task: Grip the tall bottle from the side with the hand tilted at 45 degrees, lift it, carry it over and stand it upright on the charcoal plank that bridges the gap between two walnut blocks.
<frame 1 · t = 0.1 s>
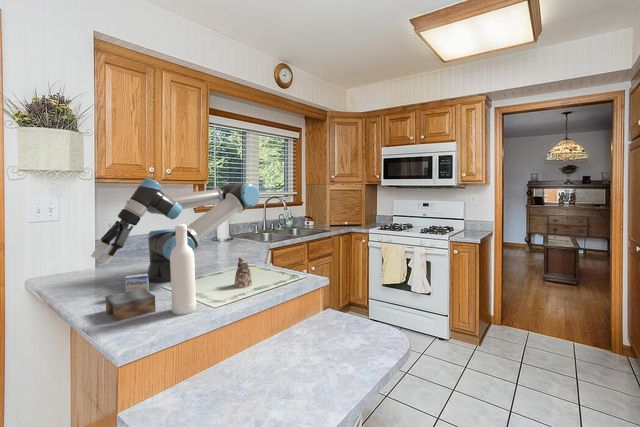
hand: (98, 260, 129), 15 cm above the countertop, tool tilted 35°, fingers open, 13 cm apart
medicine box: (137, 297, 133), on the countertop
figurine: (243, 285, 148), on the countertop
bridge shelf: (131, 311, 118), on the countertop
bottle: (184, 311, 118), on the countertop
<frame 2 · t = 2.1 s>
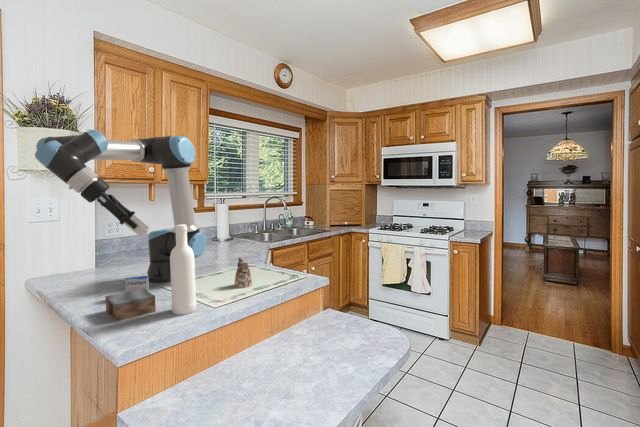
hand: (145, 232, 111), 28 cm above the countertop, tool tilted 45°, fingers open, 13 cm apart
nothing on the countertop moved.
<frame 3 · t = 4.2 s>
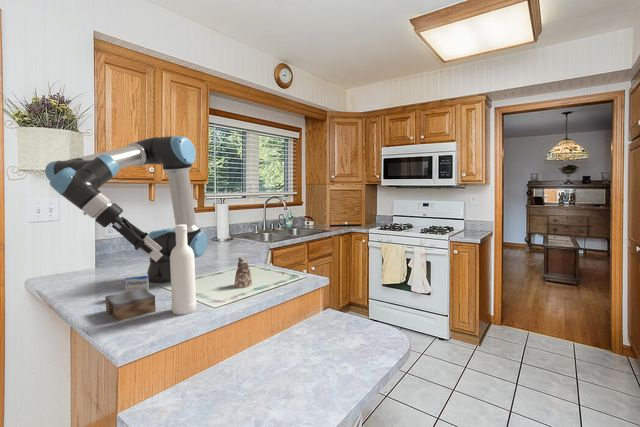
hand: (159, 254, 112), 21 cm above the countertop, tool tilted 45°, fingers open, 13 cm apart
nothing on the countertop moved.
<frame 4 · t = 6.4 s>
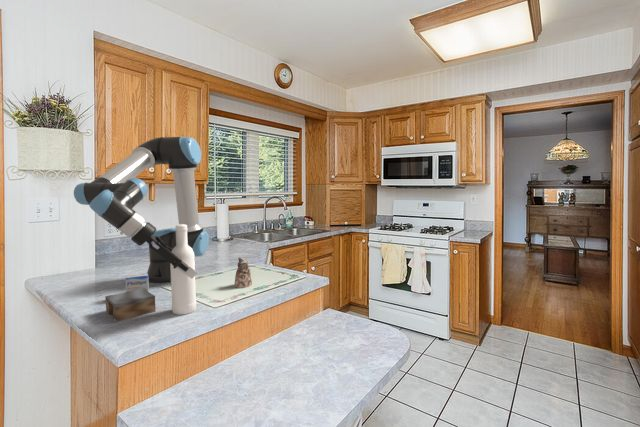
hand: (193, 272, 118), 13 cm above the countertop, tool tilted 45°, fingers closed on bottle, 8 cm apart
bottle: (184, 311, 118), on the countertop, touching gripper
everything else where it was.
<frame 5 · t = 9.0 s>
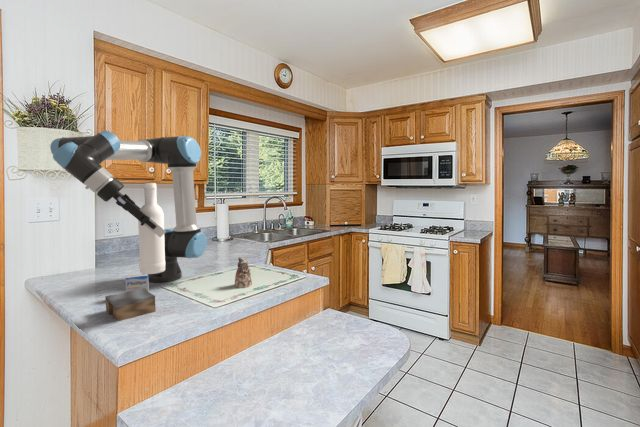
hand: (162, 232, 117), 27 cm above the countertop, tool tilted 45°, fingers closed on bottle, 8 cm apart
bottle: (152, 271, 116), point 14 cm above the countertop, touching gripper
everything else where it was.
when the fingers open (20 cm above the countertop, at t = 11.9 s): bottle moves 1 cm, resting on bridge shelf.
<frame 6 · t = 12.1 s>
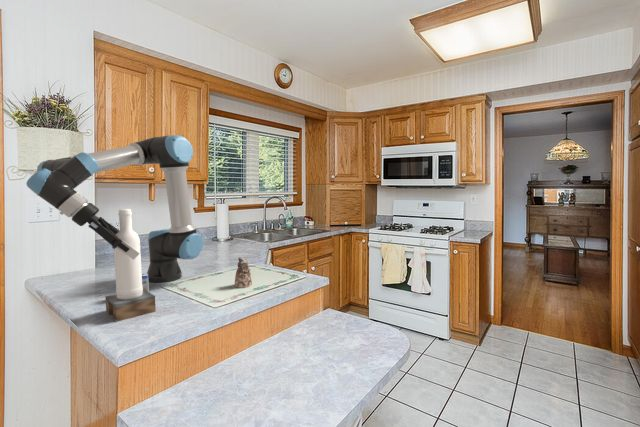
hand: (137, 253, 117), 20 cm above the countertop, tool tilted 45°, fingers open, 10 cm apart
bottle: (130, 296, 117), point 5 cm above the countertop, touching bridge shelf
everything else where it was.
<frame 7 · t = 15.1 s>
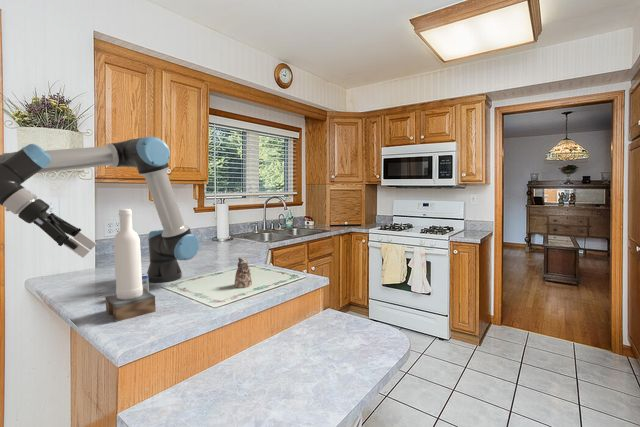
hand: (90, 250, 111), 22 cm above the countertop, tool tilted 45°, fingers open, 13 cm apart
nothing on the countertop moved.
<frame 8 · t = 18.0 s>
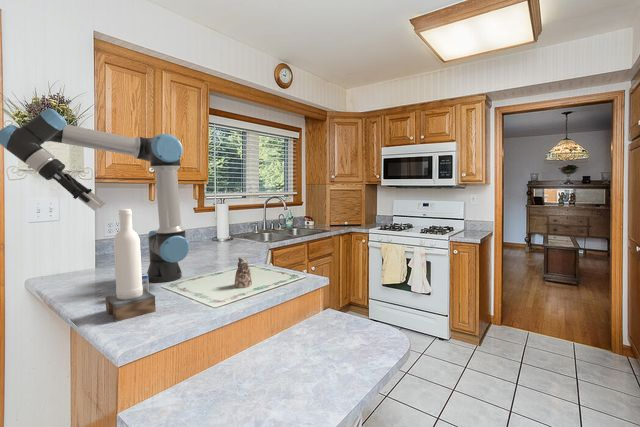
hand: (100, 206, 126), 36 cm above the countertop, tool tilted 45°, fingers open, 13 cm apart
nothing on the countertop moved.
at the end: bottle inside the target area on the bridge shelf (0.2 cm from its centre), point 5.3 cm above the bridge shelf's base; bottle tilted 0°; the gripper is holding nothing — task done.
